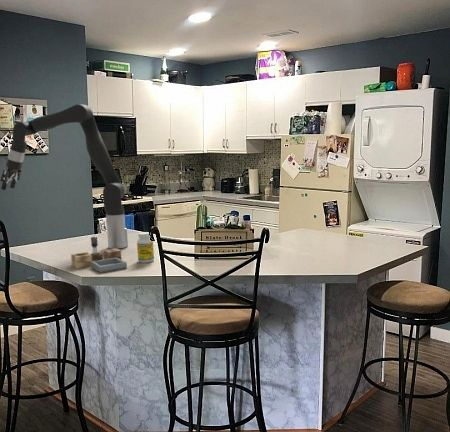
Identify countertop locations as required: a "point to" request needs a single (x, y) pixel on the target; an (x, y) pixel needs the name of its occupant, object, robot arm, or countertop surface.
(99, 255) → the pin stand
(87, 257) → the block
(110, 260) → the tray
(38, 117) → the robot arm
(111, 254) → the block
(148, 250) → the supplement bottle
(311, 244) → the countertop surface
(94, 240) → the pin gauge
